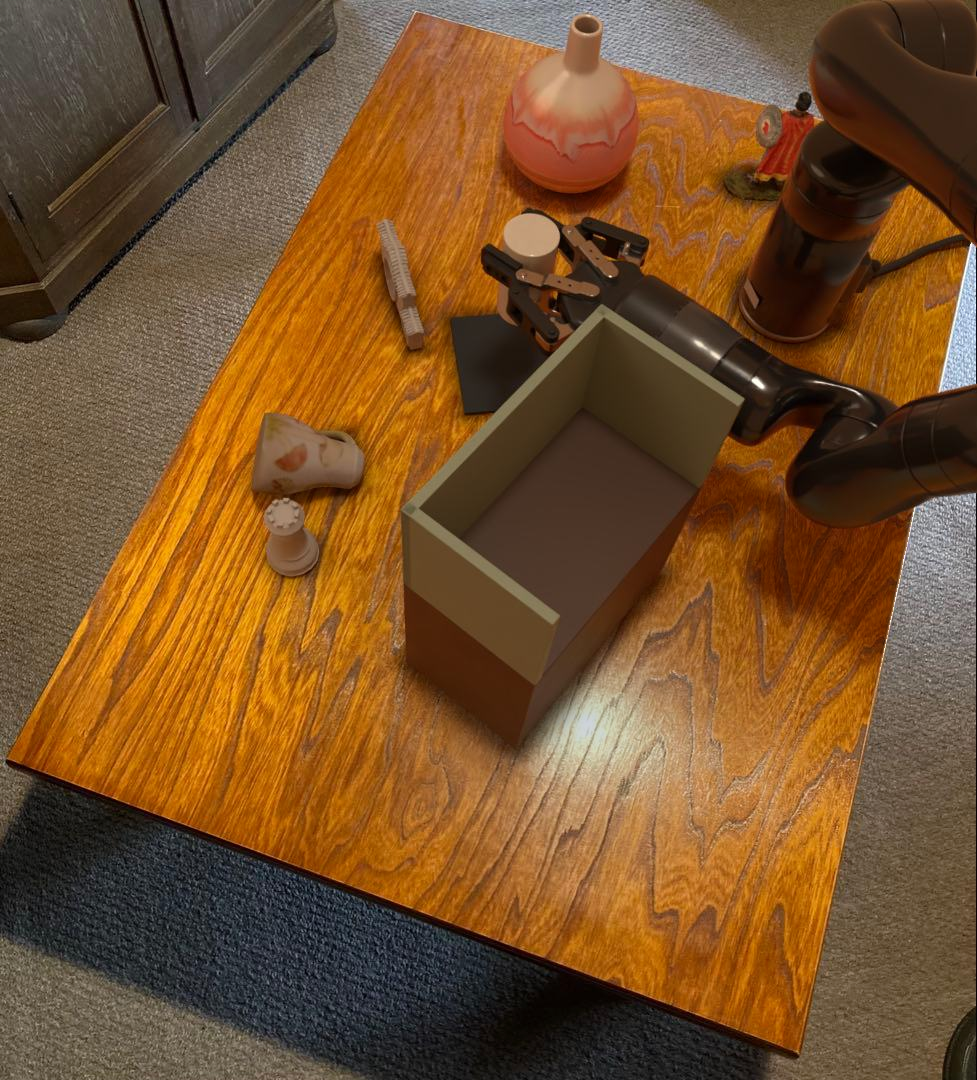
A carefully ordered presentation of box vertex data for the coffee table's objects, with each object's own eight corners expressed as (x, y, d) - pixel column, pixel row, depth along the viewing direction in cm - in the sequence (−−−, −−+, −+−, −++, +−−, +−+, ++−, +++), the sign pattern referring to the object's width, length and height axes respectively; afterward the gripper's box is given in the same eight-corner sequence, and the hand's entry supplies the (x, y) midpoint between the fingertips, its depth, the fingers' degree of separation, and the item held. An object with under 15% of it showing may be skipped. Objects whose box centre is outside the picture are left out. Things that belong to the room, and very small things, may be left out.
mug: (373, 511, 95) (309, 480, 86) (283, 513, 99) (213, 484, 90) (383, 430, 97) (320, 392, 88) (293, 436, 101) (225, 400, 92)
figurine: (803, 172, 116) (843, 80, 105) (802, 209, 113) (842, 119, 103) (725, 159, 116) (756, 66, 105) (722, 196, 114) (754, 105, 103)
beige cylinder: (544, 283, 96) (554, 211, 88) (552, 325, 94) (564, 254, 86) (493, 287, 96) (499, 214, 88) (500, 329, 94) (507, 258, 86)
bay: (661, 571, 94) (745, 398, 70) (515, 749, 86) (552, 625, 62) (556, 495, 97) (601, 303, 72) (405, 661, 89) (400, 509, 65)
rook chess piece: (327, 541, 93) (320, 497, 86) (307, 585, 91) (297, 544, 84) (280, 525, 94) (268, 479, 87) (258, 568, 92) (244, 526, 85)
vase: (492, 124, 116) (504, -25, 101) (616, 119, 118) (647, -28, 102) (507, 221, 110) (522, 79, 95) (638, 215, 112) (673, 74, 96)
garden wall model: (425, 350, 103) (425, 311, 97) (407, 353, 102) (406, 314, 97) (395, 254, 108) (393, 212, 102) (377, 257, 107) (375, 215, 102)
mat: (561, 311, 106) (561, 308, 105) (580, 405, 101) (581, 402, 101) (449, 319, 104) (450, 317, 104) (464, 415, 100) (464, 413, 99)
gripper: (732, 259, 85) (559, 153, 89) (627, 372, 79) (448, 253, 83) (710, 320, 91) (550, 218, 95) (611, 428, 86) (447, 315, 90)
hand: (504, 235), depth 89 cm, fingers closed on beige cylinder, 4 cm apart
